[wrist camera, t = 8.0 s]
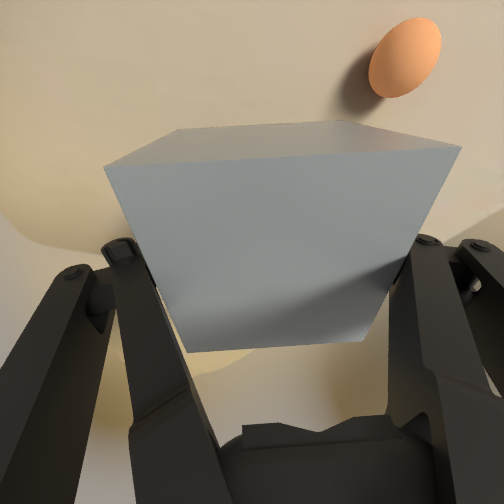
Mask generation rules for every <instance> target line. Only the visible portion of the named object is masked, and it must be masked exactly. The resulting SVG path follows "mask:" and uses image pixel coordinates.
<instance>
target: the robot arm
mask: <svg viewBox="0 0 504 504" xmlns="http://www.w3.org/2000/svg"><path fill="white" fill-rule="evenodd" d="M101 252H102V254H103V255H104V257H105V259H106V261H107V262H108V264H109V266H110V267H108V268H104V269H100V270H96V271H93V270H92V268H91V267H90V266H89V265H86V264H79V265H75V266H71V267H68V268H66V269H65V270H63V271H62V272H61V273H59V274H58V275H57V276H56V277H55V279H54V280H53V282H52V284H51V286H50V287H49V289H48V291H47V292H46V294H45V296H44V297H43V299H42V301H41V302H40V304H39V305H38V307H37V309H36V311H35V312H34V314H33V315H32V317H31V319H30V321H29V322H28V324H27V325H26V327H25V329H24V330H23V332H22V334H21V336H20V337H19V339H18V340H17V342H16V344H15V346H14V347H13V349H12V351H11V352H10V354H9V356H8V357H7V359H6V361H5V362H4V364H3V366H2V367H1V369H0V504H74V502H75V497H76V493H77V488H78V483H79V478H80V474H81V469H82V465H83V460H84V455H85V451H86V446H87V441H88V436H89V432H90V427H91V423H92V418H93V413H94V408H95V404H96V399H97V395H98V390H99V385H100V380H101V376H102V371H103V367H104V362H105V357H106V353H107V348H108V343H109V339H110V334H111V329H112V325H113V320H114V315H115V311H116V309H117V315H118V322H119V328H120V334H121V340H122V347H123V353H124V359H125V365H126V371H127V378H128V384H129V391H130V396H131V403H132V409H133V417H134V420H133V424H132V426H131V427H130V429H129V435H128V439H129V451H130V459H131V467H132V474H133V482H134V490H135V497H136V504H504V252H503V251H501V250H500V249H499V248H497V247H496V246H494V245H492V244H490V243H489V242H486V241H483V240H476V239H465V240H462V242H461V243H460V245H459V246H458V247H449V246H443V244H442V243H441V241H439V240H438V239H436V238H434V237H432V236H429V235H425V234H418V235H417V236H416V238H415V240H414V242H413V244H412V246H411V248H410V250H409V252H408V254H407V256H406V258H405V260H404V262H403V264H402V266H401V268H400V270H399V272H398V274H397V276H396V278H395V280H394V282H393V283H392V285H391V287H390V289H389V351H388V404H387V409H386V412H385V415H374V416H361V417H353V418H350V419H348V420H346V421H344V422H342V423H340V424H337V425H335V426H333V427H331V428H329V429H326V430H324V431H322V432H314V431H310V430H306V429H302V428H298V427H293V426H290V425H286V424H282V423H267V424H252V425H242V435H239V436H237V437H235V438H233V439H232V440H230V441H229V442H227V443H226V444H224V445H223V446H222V447H221V448H220V446H219V444H218V441H217V439H216V436H215V434H214V431H213V429H212V427H211V424H210V422H209V420H208V418H207V415H206V413H205V410H204V408H203V405H202V403H201V400H200V397H199V395H198V392H197V390H196V387H195V385H194V382H193V380H192V377H191V375H190V372H189V370H188V367H187V365H186V362H185V360H184V357H183V355H182V352H181V349H180V347H179V344H178V342H177V339H176V337H175V334H174V332H173V329H172V327H171V324H170V322H169V319H168V317H167V314H166V312H165V309H164V307H163V304H162V302H161V299H160V297H159V294H158V292H157V289H156V286H157V285H156V283H155V281H154V279H153V276H152V274H151V272H150V270H149V268H148V265H147V263H146V261H145V259H144V257H143V254H142V252H141V250H140V248H139V245H138V243H137V242H136V244H135V242H134V240H133V239H132V238H119V239H115V240H113V241H110V242H109V243H107V244H105V245H104V246H103V247H102V249H101ZM479 280H480V282H481V288H480V289H479V290H478V291H476V290H475V289H474V285H475V284H476V283H477V282H478V281H479ZM483 367H484V368H485V370H486V372H487V373H488V375H489V376H490V378H491V380H492V381H493V383H494V385H495V387H496V388H497V390H498V392H499V393H500V395H501V396H502V398H501V397H498V396H496V395H494V394H493V393H492V390H491V389H490V386H489V383H488V380H487V377H486V374H485V371H484V368H483Z"/></svg>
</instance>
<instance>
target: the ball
mask: <svg viewBox="0 0 504 504" xmlns="http://www.w3.org/2000/svg"><path fill="white" fill-rule="evenodd" d="M440 49H441V35H440V31H439V29H438V27H437V26H436V25H435V24H434V23H433V22H432V21H431V20H429V19H425V18H413V19H409V20H406V21H404V22H402V23H400V24H399V25H397V26H396V27H394V28H393V29H392V30H390V31H389V32H388V33H387V34H386V35H385V36H384V38H383V39H382V40H381V41H380V43H379V44H378V46H377V47H376V49H375V51H374V53H373V55H372V58H371V61H370V65H369V82H370V85H371V87H372V89H373V90H374V91H375V92H376V93H377V94H378V95H380V96H382V97H386V98H394V97H399V96H402V95H405V94H407V93H409V92H411V91H412V90H414V89H415V88H416V87H418V86H419V85H420V84H421V83H422V82H423V81H424V80H425V79H426V78H427V76H428V75H429V74H430V72H431V71H432V69H433V68H434V66H435V64H436V62H437V59H438V57H439V54H440Z"/></svg>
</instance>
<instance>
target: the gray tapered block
mask: <svg viewBox="0 0 504 504" xmlns="http://www.w3.org/2000/svg"><path fill="white" fill-rule="evenodd" d="M461 148H462V146H458V145H453V144H448V143H444V142H439V141H435V140H430V139H425V138H421V137H416V136H411V135H407V134H402V133H398V132H393V131H388V130H384V129H379V128H374V127H370V126H365V125H361V124H356V123H351V122H347V121H342V120H338V121H320V122H302V123H283V124H265V125H247V126H229V127H211V128H193V129H178V130H176V131H174V132H172V133H170V134H168V135H166V136H164V137H162V138H160V139H158V140H156V141H154V142H152V143H150V144H148V145H146V146H144V147H142V148H140V149H138V150H136V151H134V152H132V153H130V154H128V155H126V156H124V157H122V158H120V159H118V160H116V161H114V162H112V163H110V164H108V165H106V166H104V167H103V168H104V170H105V172H106V175H107V177H108V179H109V181H110V184H111V186H112V188H113V190H114V192H115V195H116V197H117V199H118V201H119V203H120V206H121V208H122V210H123V212H124V214H125V217H126V219H127V221H128V223H129V226H130V228H131V230H132V232H133V234H134V237H135V239H136V241H137V243H138V245H139V248H140V250H141V252H142V254H143V257H144V259H145V261H146V263H147V265H148V268H149V270H150V272H151V274H152V276H153V279H154V281H155V283H156V285H157V288H158V290H159V292H160V294H161V296H162V299H163V301H164V303H165V305H166V307H167V310H168V312H169V314H170V316H171V318H172V321H173V323H174V325H175V327H176V330H177V332H178V334H179V336H180V338H181V341H182V343H183V345H184V347H185V349H186V352H187V353H195V352H209V351H224V350H238V349H252V348H266V347H281V346H296V345H310V344H324V343H339V342H353V341H363V340H364V338H365V336H366V334H367V332H368V330H369V329H370V326H371V325H372V323H373V321H374V319H375V317H376V315H377V313H378V311H379V309H380V307H381V305H382V303H383V301H384V299H385V297H386V295H387V293H388V291H389V289H390V287H391V285H392V283H393V282H394V280H395V278H396V276H397V274H398V272H399V270H400V268H401V266H402V264H403V262H404V260H405V258H406V256H407V254H408V252H409V250H410V248H411V246H412V244H413V242H414V240H415V238H416V236H417V235H418V233H419V231H420V229H421V227H422V225H423V223H424V221H425V219H426V217H427V215H428V213H429V211H430V209H431V207H432V205H433V203H434V201H435V199H436V197H437V195H438V193H439V191H440V189H441V187H442V186H443V184H444V182H445V180H446V178H447V176H448V174H449V172H450V170H451V168H452V166H453V164H454V162H455V160H456V158H457V156H458V154H459V152H460V150H461Z"/></svg>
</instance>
